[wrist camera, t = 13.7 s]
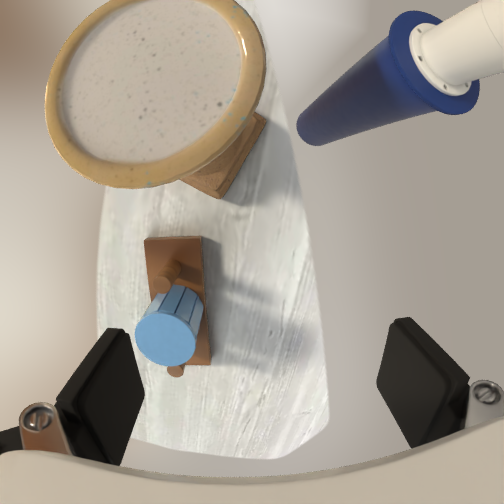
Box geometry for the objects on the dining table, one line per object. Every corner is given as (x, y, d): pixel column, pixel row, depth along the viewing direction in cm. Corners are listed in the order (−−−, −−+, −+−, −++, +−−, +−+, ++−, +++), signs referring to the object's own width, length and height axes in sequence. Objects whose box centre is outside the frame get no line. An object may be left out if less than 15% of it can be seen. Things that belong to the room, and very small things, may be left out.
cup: (189, 277, 35) (177, 304, 27) (211, 322, 37) (206, 357, 29) (144, 294, 35) (123, 323, 28) (167, 336, 37) (153, 372, 29)
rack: (147, 237, 35) (126, 252, 28) (201, 235, 35) (192, 250, 28) (164, 358, 39) (153, 390, 32) (211, 359, 40) (207, 393, 33)
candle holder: (188, 83, 30) (121, -38, 7) (267, 122, 32) (323, 26, 9) (144, 159, 32) (6, 143, 9) (221, 200, 34) (189, 248, 11)
